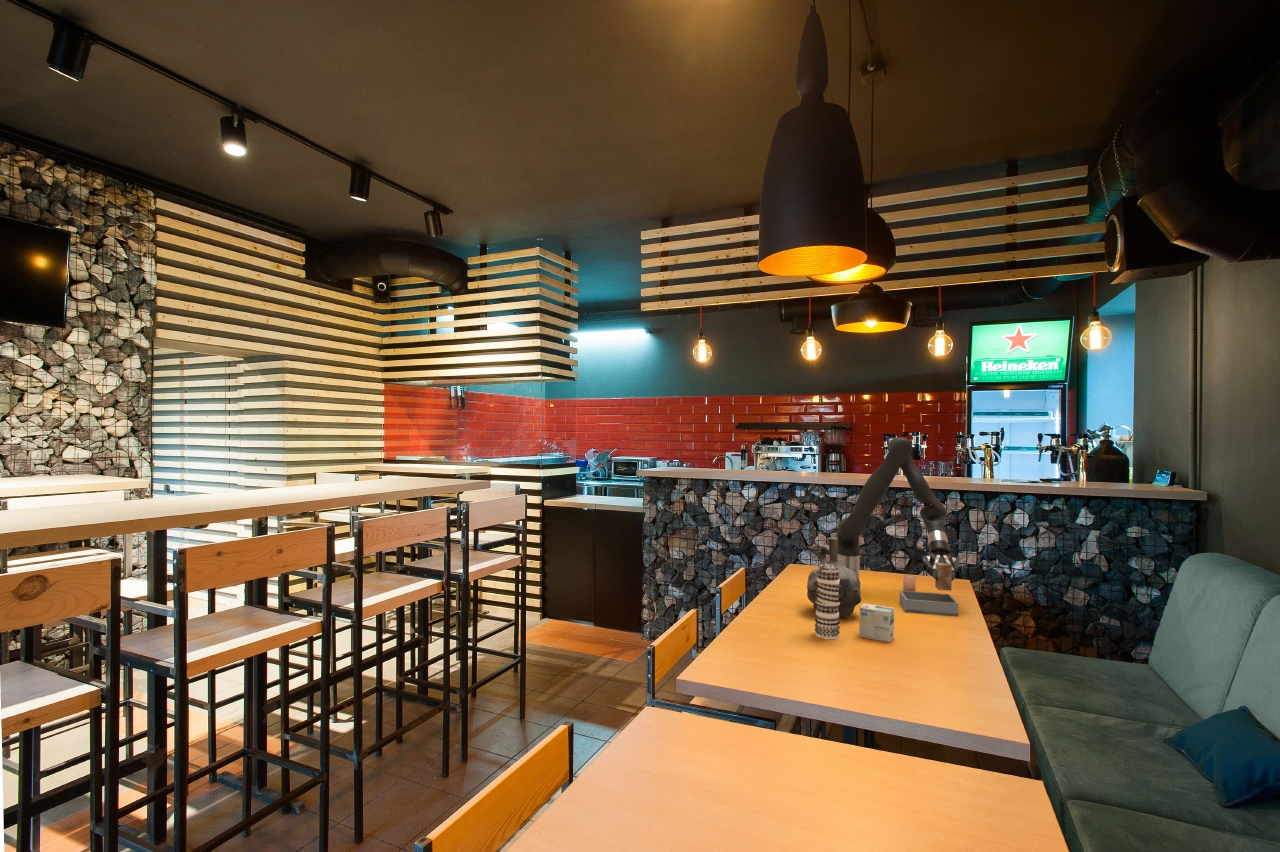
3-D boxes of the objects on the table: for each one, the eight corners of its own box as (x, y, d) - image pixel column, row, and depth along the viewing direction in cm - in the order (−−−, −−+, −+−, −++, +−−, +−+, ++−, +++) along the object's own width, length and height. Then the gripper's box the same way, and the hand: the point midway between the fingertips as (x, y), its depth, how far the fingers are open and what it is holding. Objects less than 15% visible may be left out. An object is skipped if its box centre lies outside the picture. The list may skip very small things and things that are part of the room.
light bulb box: (894, 637, 228) (894, 607, 228) (890, 643, 223) (891, 611, 222) (863, 632, 234) (863, 602, 234) (858, 637, 228) (859, 606, 228)
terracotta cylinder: (903, 600, 277) (904, 577, 277) (902, 597, 282) (902, 574, 282) (916, 601, 276) (916, 578, 276) (914, 598, 281) (914, 575, 281)
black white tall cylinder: (810, 637, 227) (812, 566, 227) (816, 629, 236) (818, 561, 235) (837, 641, 223) (839, 569, 223) (842, 633, 231) (843, 564, 231)
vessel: (790, 606, 265) (791, 533, 265) (835, 602, 272) (836, 531, 272) (826, 624, 242) (827, 544, 242) (874, 619, 249) (875, 542, 249)
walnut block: (937, 589, 259) (938, 564, 259) (935, 586, 264) (935, 562, 263) (951, 590, 258) (951, 565, 257) (948, 587, 262) (948, 563, 262)
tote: (905, 612, 260) (905, 599, 260) (899, 602, 274) (899, 590, 274) (958, 616, 255) (958, 603, 255) (949, 606, 270) (949, 594, 269)
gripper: (921, 538, 269) (926, 573, 258) (958, 539, 266) (965, 575, 254) (918, 548, 275) (923, 583, 263) (955, 550, 271) (962, 585, 260)
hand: (944, 579), depth 259 cm, fingers closed on walnut block, 5 cm apart
